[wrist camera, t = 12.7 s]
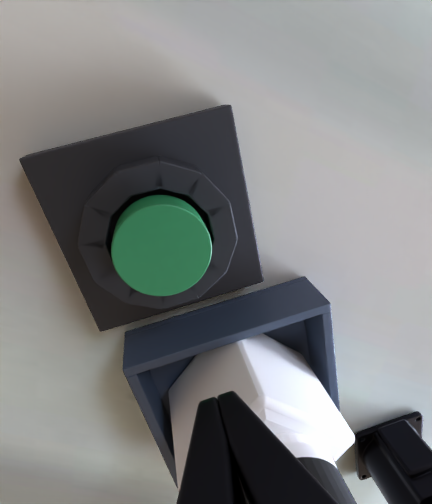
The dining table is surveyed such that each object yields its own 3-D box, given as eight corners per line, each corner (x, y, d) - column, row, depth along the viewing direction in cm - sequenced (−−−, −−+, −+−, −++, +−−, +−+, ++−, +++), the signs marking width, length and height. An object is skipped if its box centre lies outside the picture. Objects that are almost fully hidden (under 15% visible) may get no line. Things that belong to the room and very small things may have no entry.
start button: (214, 265, 18) (221, 280, 16) (131, 289, 17) (130, 308, 16) (193, 183, 16) (199, 192, 14) (99, 209, 15) (95, 221, 14)
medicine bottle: (165, 389, 23) (188, 635, 13) (226, 312, 22) (312, 516, 11) (244, 419, 26) (317, 641, 15) (302, 352, 25) (430, 547, 14)
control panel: (257, 271, 22) (275, 297, 19) (102, 318, 21) (96, 353, 18) (224, 104, 17) (241, 104, 14) (27, 154, 16) (3, 165, 13)
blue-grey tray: (319, 393, 27) (342, 429, 24) (173, 444, 26) (177, 489, 23) (304, 275, 22) (330, 302, 19) (124, 332, 21) (122, 370, 18)
